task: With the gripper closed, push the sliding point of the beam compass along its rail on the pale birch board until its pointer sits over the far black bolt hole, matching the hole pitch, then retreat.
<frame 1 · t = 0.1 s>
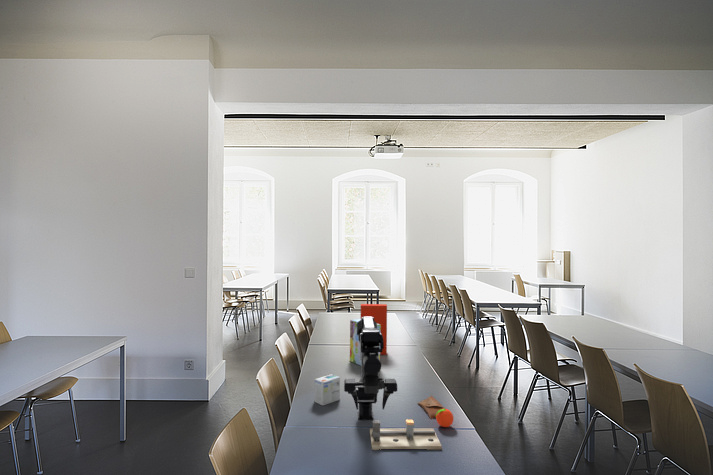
hand: (370, 409, 147), 15 cm above the table, fingers open, 9 cm apart
slider: (410, 429, 153), point 4 cm above the table, slide at 0.0 cm
snack box: (364, 364, 248), on the table
light bulb box: (327, 401, 191), on the table
file binder: (373, 353, 273), on the table
clementine: (443, 427, 165), on the table
sunglasses case: (432, 411, 181), on the table
board: (404, 440, 154), on the table
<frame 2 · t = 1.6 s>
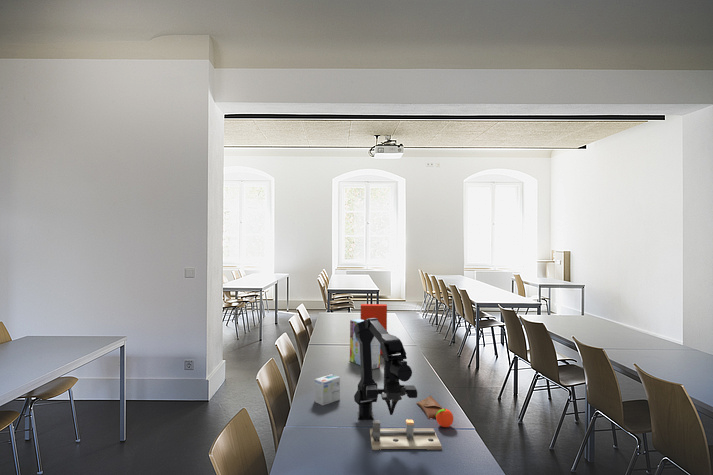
hand: (391, 414, 153), 10 cm above the table, fingers closed
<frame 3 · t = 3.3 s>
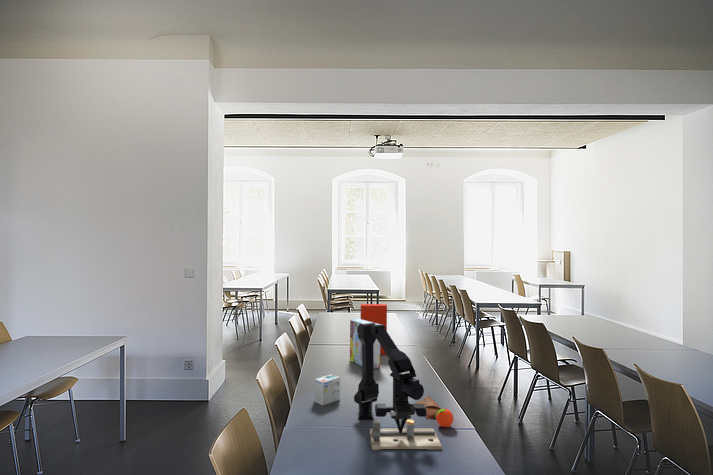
hand: (400, 432, 153), 3 cm above the table, fingers closed
slider: (410, 429, 153), point 4 cm above the table, slide at 0.1 cm, touching gripper
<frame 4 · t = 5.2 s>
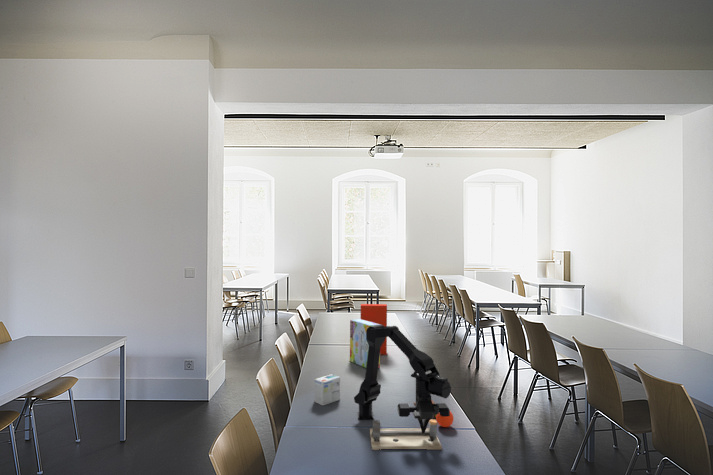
hand: (423, 432, 153), 3 cm above the table, fingers closed
slider: (433, 429, 153), point 4 cm above the table, slide at 8.7 cm, touching gripper
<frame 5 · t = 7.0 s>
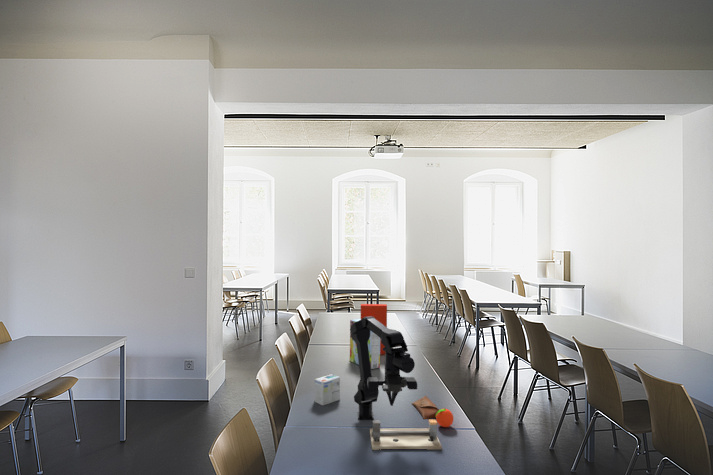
hand: (391, 405, 158), 12 cm above the table, fingers closed
slider: (433, 429, 153), point 4 cm above the table, slide at 8.7 cm
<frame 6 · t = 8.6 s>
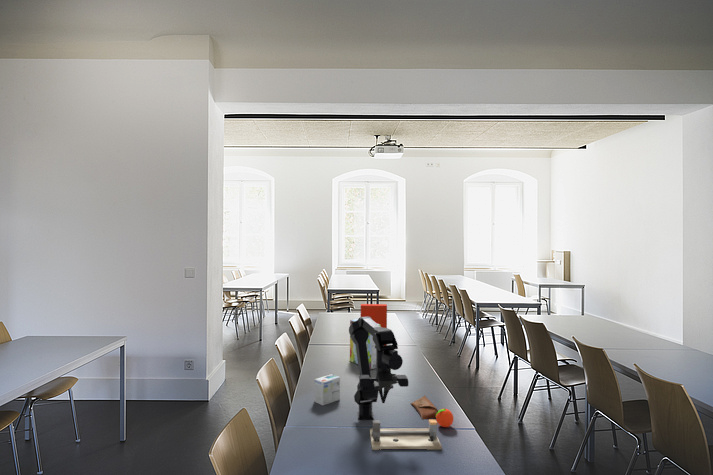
hand: (383, 402, 159), 12 cm above the table, fingers closed
at the end: slider slide at 8.7 cm; slider 1.0 cm from the target spot, resting on board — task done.
